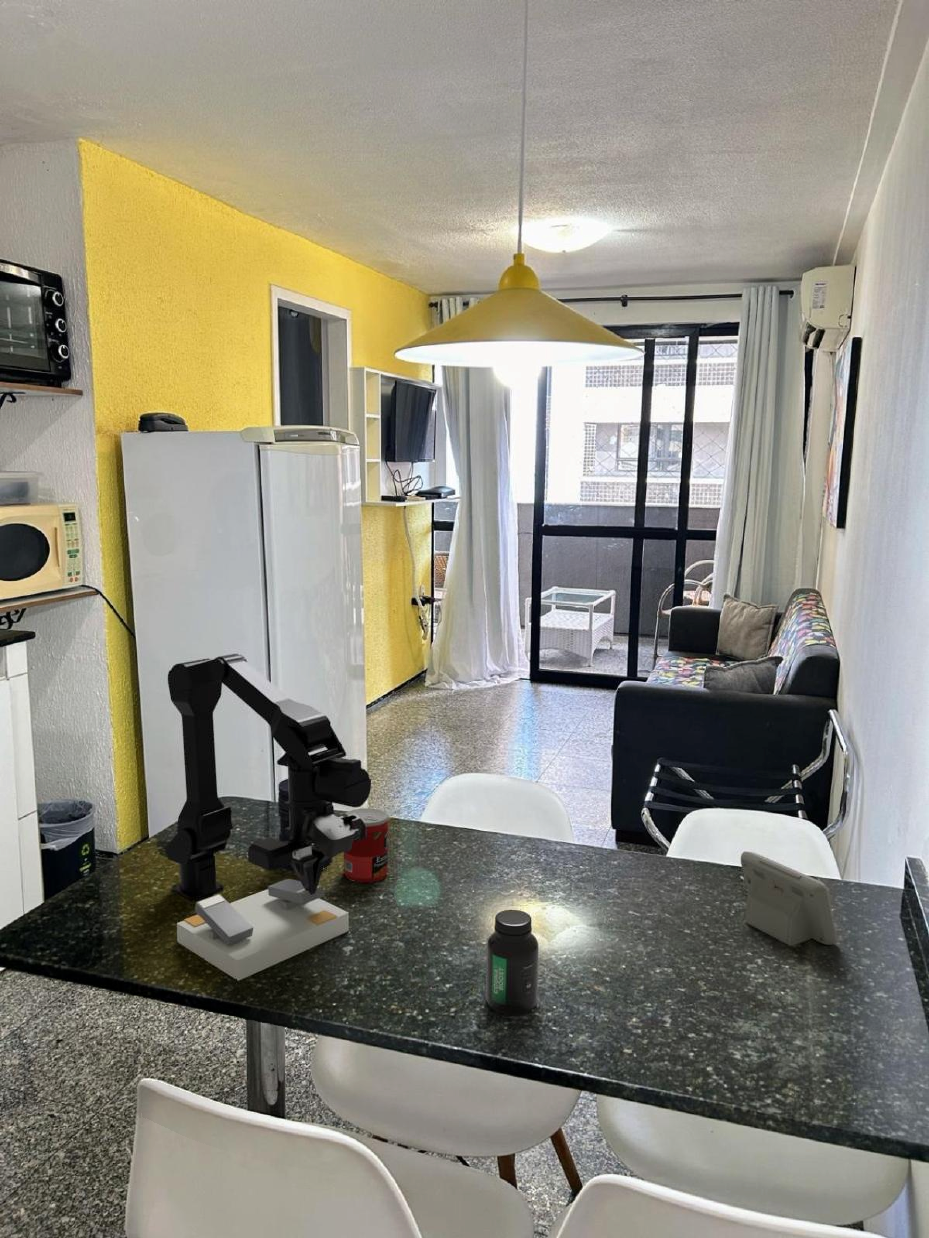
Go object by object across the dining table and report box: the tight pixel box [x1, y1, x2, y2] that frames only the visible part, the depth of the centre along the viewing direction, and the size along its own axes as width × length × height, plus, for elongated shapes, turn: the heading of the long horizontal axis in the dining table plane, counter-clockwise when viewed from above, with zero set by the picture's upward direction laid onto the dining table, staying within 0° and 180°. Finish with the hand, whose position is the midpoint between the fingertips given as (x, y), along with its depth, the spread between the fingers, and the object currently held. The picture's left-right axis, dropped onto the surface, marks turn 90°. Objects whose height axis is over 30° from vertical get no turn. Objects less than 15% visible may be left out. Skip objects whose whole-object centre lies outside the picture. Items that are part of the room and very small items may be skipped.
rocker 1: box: [194, 893, 253, 946], centre depth 131 cm, size 9×4×2 cm, turn 47°
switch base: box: [176, 888, 350, 981], centre depth 137 cm, size 16×20×4 cm
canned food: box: [343, 807, 389, 884], centre depth 159 cm, size 8×8×11 cm
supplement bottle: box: [485, 909, 540, 1016], centre depth 119 cm, size 7×7×12 cm
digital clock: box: [740, 851, 837, 947], centre depth 141 cm, size 16×9×11 cm, turn 19°
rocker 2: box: [267, 878, 325, 904], centre depth 141 cm, size 9×4×2 cm, turn 48°
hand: (310, 894), depth 138 cm, fingers closed, pressing on rocker 2
